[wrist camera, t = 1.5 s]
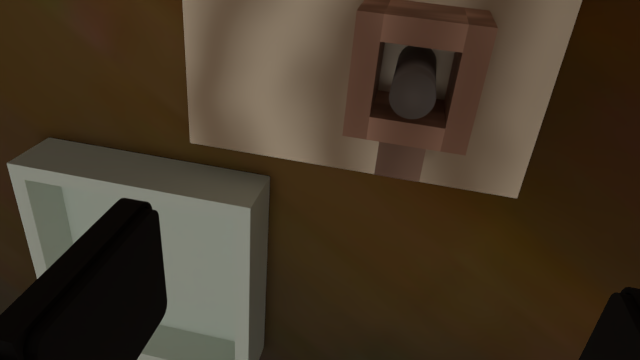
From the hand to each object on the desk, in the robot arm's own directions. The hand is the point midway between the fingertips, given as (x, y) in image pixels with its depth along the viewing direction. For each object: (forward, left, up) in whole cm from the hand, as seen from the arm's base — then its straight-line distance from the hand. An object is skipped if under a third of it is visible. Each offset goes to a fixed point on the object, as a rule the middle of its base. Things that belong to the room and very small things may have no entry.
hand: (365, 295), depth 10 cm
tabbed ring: (0, +1, -18) cm, 18 cm away
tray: (+16, +17, -19) cm, 30 cm away
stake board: (+3, 0, -19) cm, 20 cm away
